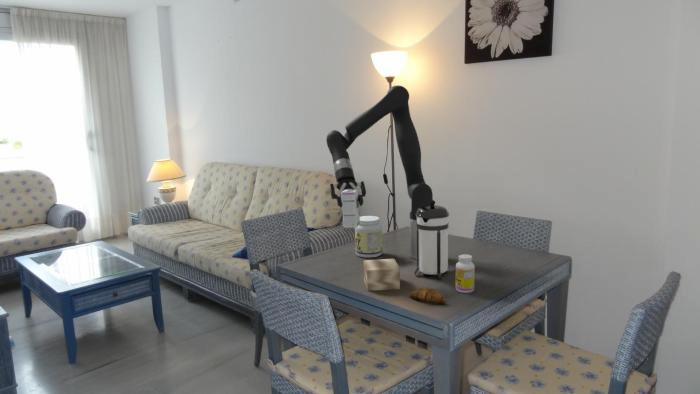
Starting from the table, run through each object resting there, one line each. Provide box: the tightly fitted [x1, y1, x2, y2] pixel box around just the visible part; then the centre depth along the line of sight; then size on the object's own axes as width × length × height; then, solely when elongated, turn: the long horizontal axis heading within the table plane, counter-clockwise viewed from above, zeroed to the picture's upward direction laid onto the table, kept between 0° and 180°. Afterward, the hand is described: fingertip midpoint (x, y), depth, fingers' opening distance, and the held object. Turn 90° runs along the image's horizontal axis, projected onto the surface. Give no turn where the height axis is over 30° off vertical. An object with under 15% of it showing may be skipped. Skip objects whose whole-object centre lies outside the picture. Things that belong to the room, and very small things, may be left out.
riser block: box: [363, 258, 401, 292], centre depth 190 cm, size 12×12×8 cm
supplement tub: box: [354, 215, 383, 259], centre depth 227 cm, size 12×12×17 cm
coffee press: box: [413, 199, 451, 281], centre depth 199 cm, size 17×16×30 cm
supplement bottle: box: [455, 253, 476, 294], centre depth 181 cm, size 7×7×13 cm
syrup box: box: [341, 188, 361, 229], centre depth 198 cm, size 6×6×14 cm
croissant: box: [409, 287, 447, 305], centre depth 174 cm, size 14×7×5 cm, turn 55°
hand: (351, 205), depth 196 cm, fingers closed on syrup box, 7 cm apart
